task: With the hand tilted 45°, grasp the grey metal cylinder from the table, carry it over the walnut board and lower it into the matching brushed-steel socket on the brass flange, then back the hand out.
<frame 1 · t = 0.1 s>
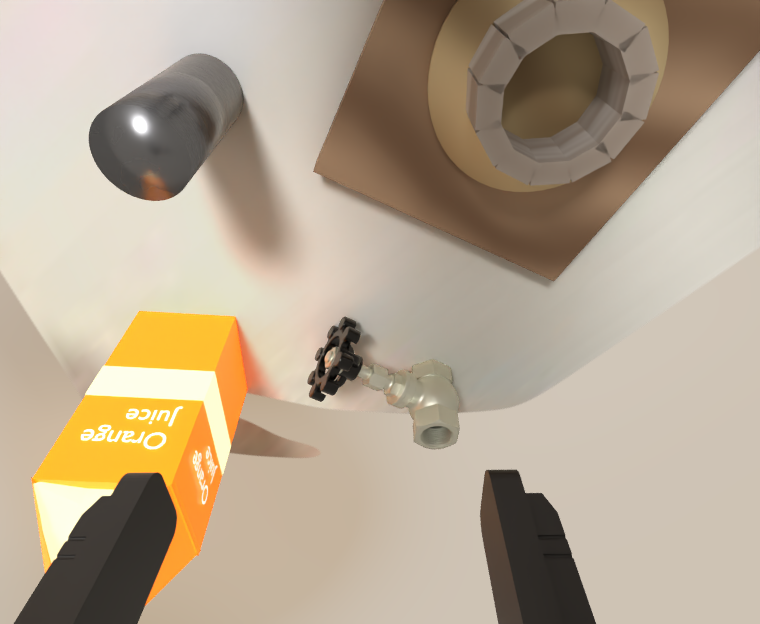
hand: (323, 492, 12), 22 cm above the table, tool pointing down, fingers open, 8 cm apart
socket fitting: (534, 74, 26), on the table
orange juice: (197, 351, 40), on the table
grey metal cylinder: (207, 93, 27), on the table
valve: (393, 354, 40), on the table
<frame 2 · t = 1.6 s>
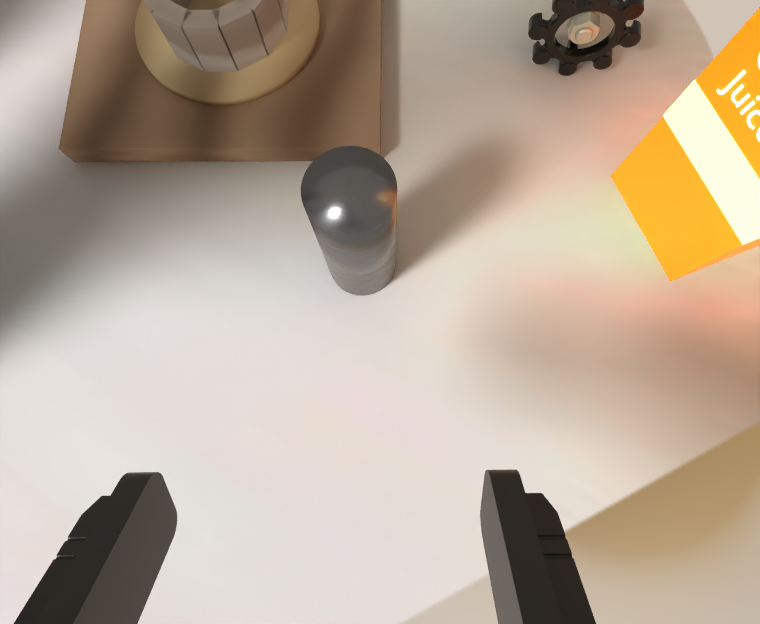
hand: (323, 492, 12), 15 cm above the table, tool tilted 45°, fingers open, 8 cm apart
socket fitting: (236, 44, 33), on the table
orange juice: (700, 204, 29), on the table
grey metal cylinder: (362, 263, 29), on the table
valve: (566, 5, 33), on the table
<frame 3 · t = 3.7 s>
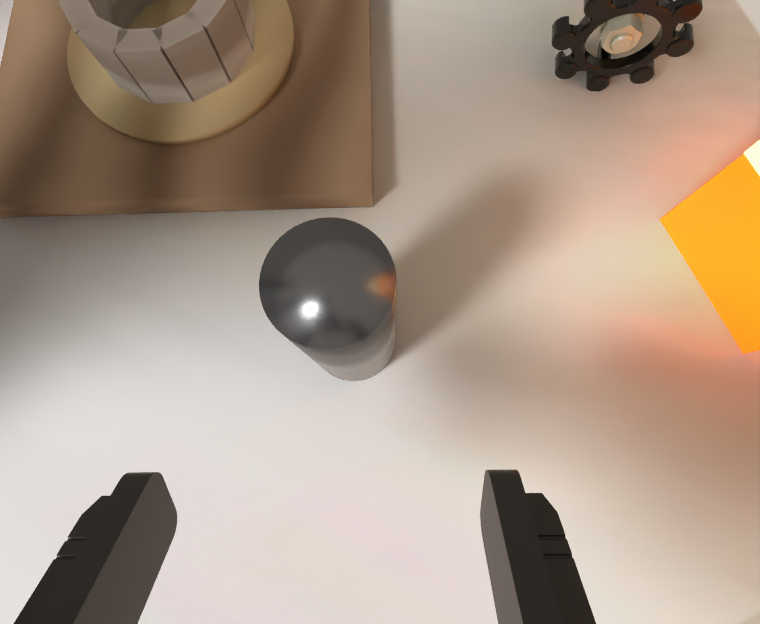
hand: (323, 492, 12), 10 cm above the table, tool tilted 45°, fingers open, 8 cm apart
socket fitting: (195, 66, 27), on the table
grey metal cylinder: (354, 339, 23), on the table
valve: (591, 6, 28), on the table
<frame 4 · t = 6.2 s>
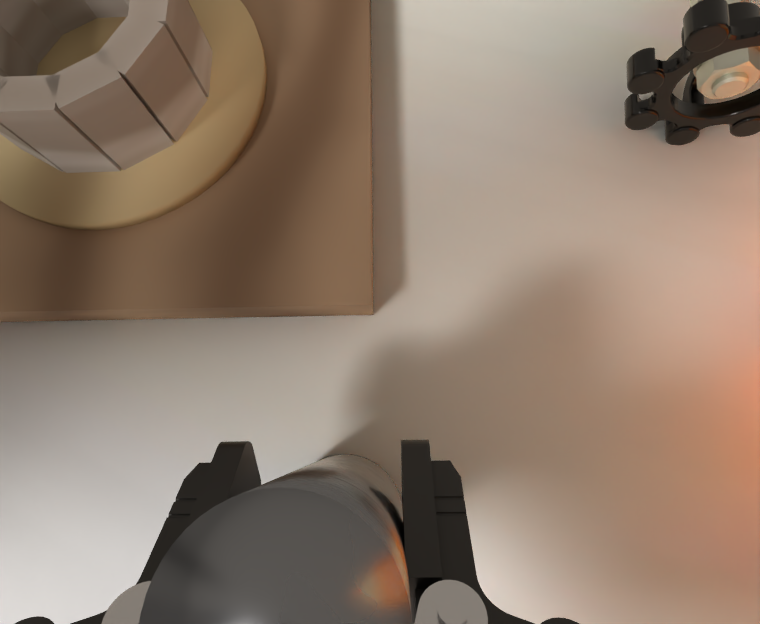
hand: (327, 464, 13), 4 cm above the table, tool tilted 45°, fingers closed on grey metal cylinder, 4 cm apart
socket fitting: (136, 113, 20), on the table
grey metal cylinder: (344, 515, 16), on the table, touching gripper
valve: (665, 27, 21), on the table
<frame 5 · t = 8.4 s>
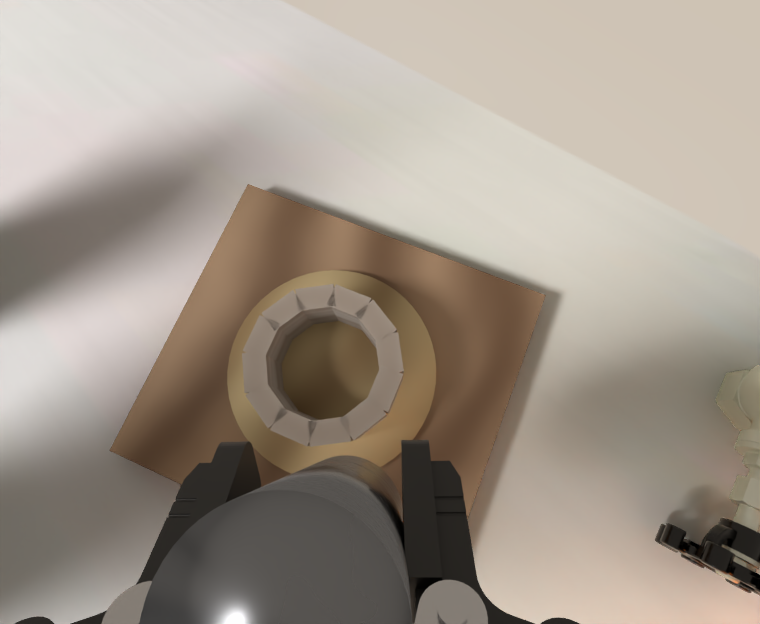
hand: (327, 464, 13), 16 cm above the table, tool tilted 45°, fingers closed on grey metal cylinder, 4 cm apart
socket fitting: (335, 373, 29), on the table
grey metal cylinder: (344, 516, 16), point 12 cm above the table, touching gripper
valve: (721, 460, 27), on the table
when the fingers open (7 cm above the table, at t = 10.9 s): grey metal cylinder stays where it is, resting on socket fitting.
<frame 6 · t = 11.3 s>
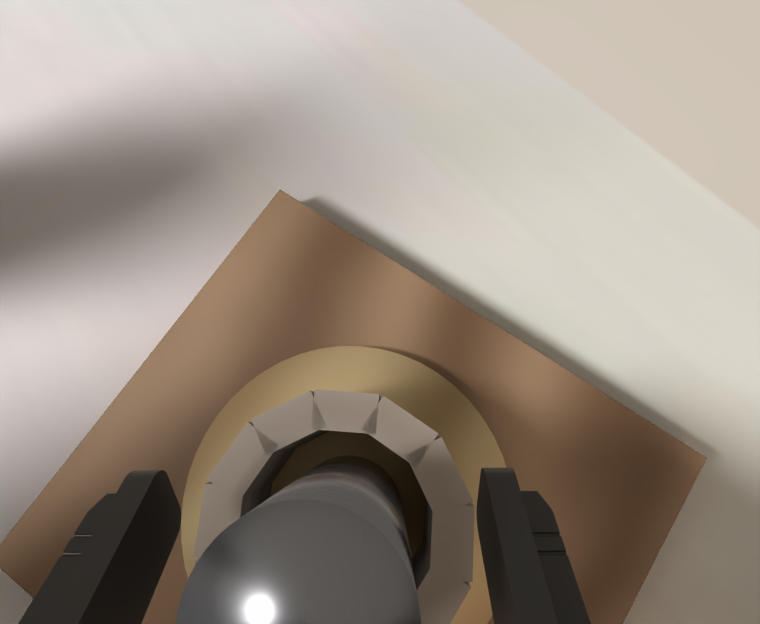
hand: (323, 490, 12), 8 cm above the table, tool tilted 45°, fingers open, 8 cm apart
socket fitting: (351, 501, 19), on the table
grey metal cylinder: (347, 513, 17), point 2 cm above the table, touching socket fitting
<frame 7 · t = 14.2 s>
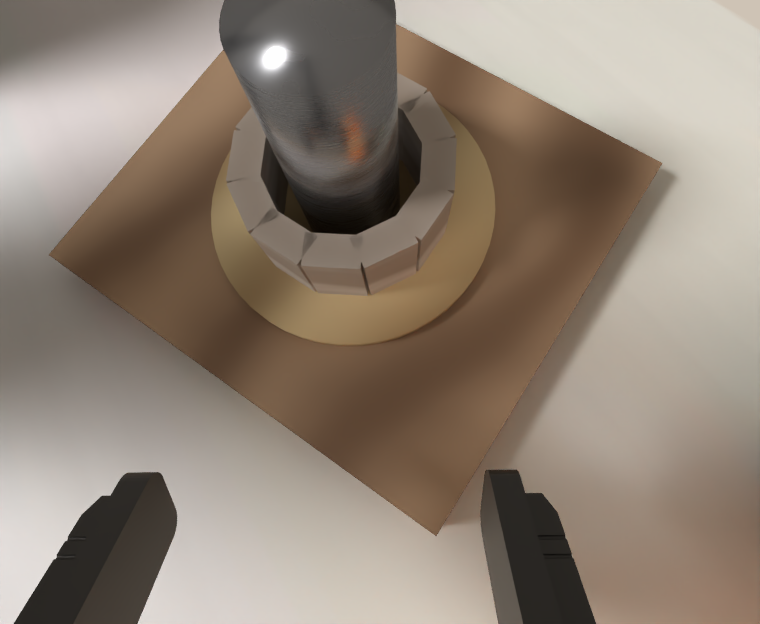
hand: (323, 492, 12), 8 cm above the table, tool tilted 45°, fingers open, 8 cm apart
socket fitting: (356, 223, 22), on the table
grey metal cylinder: (352, 204, 20), point 2 cm above the table, touching socket fitting
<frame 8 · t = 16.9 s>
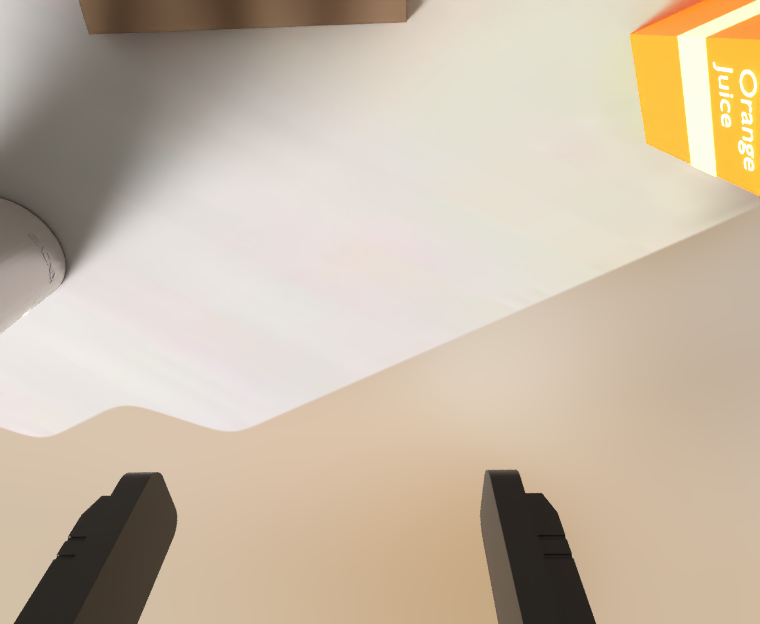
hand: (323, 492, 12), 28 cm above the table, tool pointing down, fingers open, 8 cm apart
orange juice: (704, 63, 32), on the table
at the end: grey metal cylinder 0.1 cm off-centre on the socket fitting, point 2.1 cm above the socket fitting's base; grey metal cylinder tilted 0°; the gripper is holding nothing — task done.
